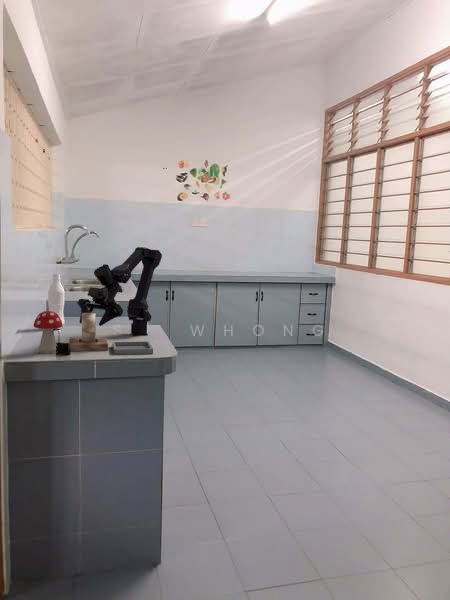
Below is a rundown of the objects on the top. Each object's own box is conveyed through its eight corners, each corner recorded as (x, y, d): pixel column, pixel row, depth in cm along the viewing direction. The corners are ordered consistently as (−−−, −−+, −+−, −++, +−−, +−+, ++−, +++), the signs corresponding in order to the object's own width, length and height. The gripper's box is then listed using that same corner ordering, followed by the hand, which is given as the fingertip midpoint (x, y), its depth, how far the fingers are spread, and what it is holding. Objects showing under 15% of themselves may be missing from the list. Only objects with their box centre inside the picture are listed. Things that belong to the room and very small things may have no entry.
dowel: (95, 345, 194) (95, 312, 193) (95, 348, 189) (95, 314, 188) (81, 345, 193) (81, 312, 191) (81, 348, 188) (81, 314, 187)
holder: (106, 343, 200) (106, 337, 199) (107, 350, 186) (107, 344, 186) (69, 343, 196) (69, 337, 196) (68, 351, 183) (68, 344, 182)
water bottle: (67, 328, 228) (68, 274, 226) (56, 330, 222) (56, 274, 219) (55, 327, 231) (56, 273, 229) (44, 329, 225) (44, 273, 222)
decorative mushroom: (64, 349, 185) (64, 309, 183) (60, 354, 176) (60, 312, 175) (36, 349, 183) (36, 309, 182) (30, 354, 175) (30, 312, 173)
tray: (148, 346, 197) (148, 341, 197) (153, 353, 184) (153, 348, 184) (112, 346, 194) (112, 341, 193) (114, 354, 180) (114, 349, 180)
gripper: (80, 278, 198) (60, 308, 189) (119, 281, 190) (100, 313, 181) (93, 296, 206) (74, 326, 197) (130, 300, 198) (113, 331, 189)
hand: (89, 324), depth 191 cm, fingers open, 9 cm apart
